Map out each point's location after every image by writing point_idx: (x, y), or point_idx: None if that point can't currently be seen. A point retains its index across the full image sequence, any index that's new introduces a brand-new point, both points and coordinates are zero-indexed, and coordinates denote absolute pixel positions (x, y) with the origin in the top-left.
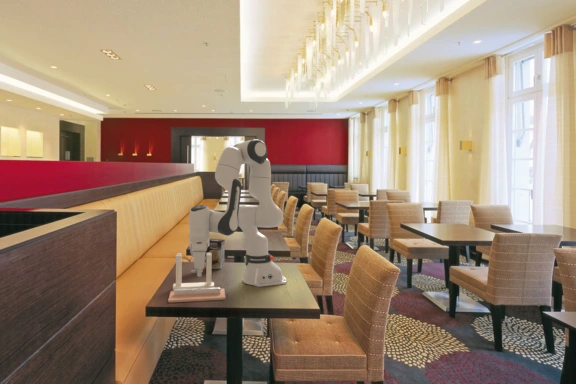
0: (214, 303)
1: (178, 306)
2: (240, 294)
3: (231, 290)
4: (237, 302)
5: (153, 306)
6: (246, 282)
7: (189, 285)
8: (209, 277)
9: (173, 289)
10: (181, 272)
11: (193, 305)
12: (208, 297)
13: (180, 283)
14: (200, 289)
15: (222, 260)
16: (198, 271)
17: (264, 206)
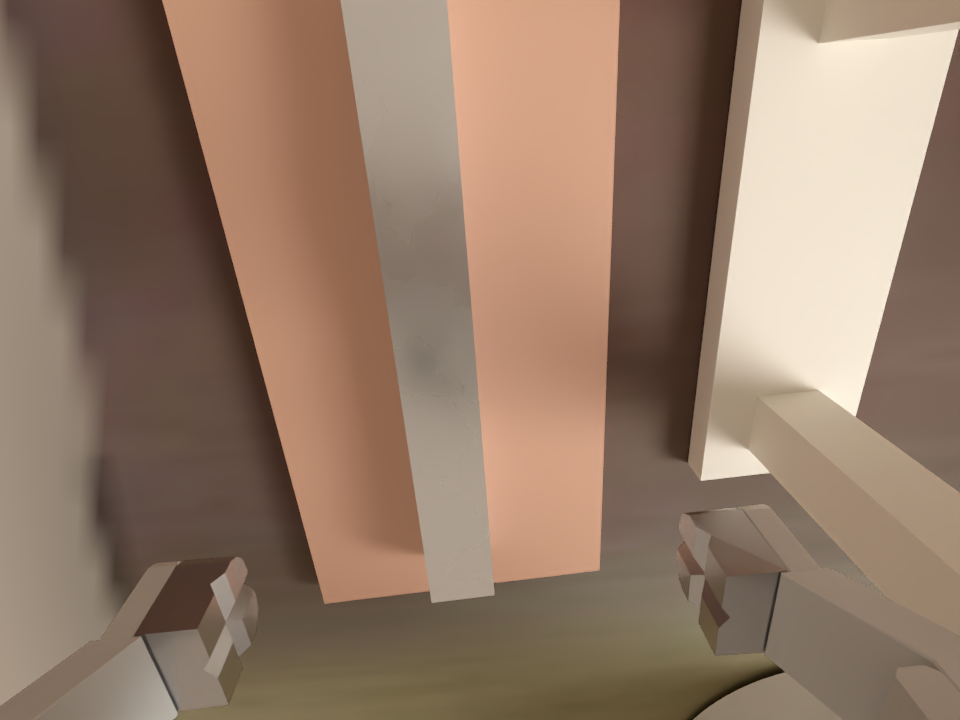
0: (210, 509)
1: (27, 116)
2: (465, 671)
3: (584, 606)
4: (260, 667)
5: None
6: (735, 705)
7: (801, 181)
8: (809, 487)
9: None
10: None
11: (109, 311)
12: (312, 461)
13: (852, 24)
14: (403, 401)
15: None
16: (49, 710)
17: None
